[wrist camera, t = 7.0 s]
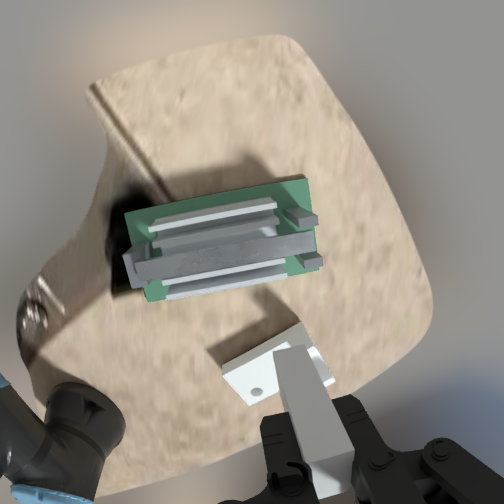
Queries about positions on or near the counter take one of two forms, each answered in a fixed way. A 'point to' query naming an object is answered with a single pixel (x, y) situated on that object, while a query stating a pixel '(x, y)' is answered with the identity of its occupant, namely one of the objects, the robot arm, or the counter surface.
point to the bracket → (270, 365)
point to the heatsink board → (221, 236)
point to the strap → (225, 255)
